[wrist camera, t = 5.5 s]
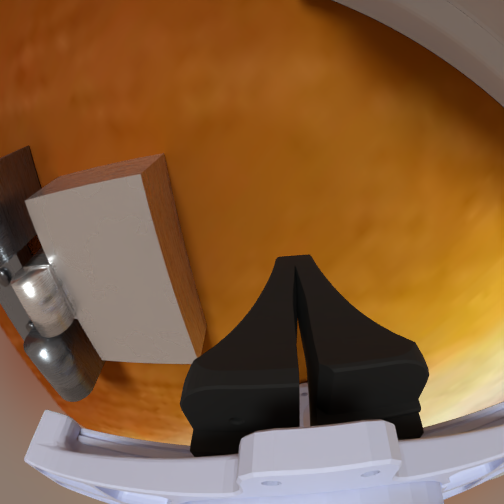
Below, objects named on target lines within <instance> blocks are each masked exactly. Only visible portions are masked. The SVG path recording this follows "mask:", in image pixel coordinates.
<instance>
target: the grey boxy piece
mask: <svg viewBox="0 0 504 504" xmlns="http://www.w3.org/2000/svg"><path fill="white" fill-rule="evenodd" d="M25 203H26V206H27V209H28V212H29V215H30V217H31V220H32V223H33V225H34V228H35V230H36V233H37V235H38V238H39V240H40V243H41V245H42V247H41V248H40V249H39V250H38V251H37V253H36V254H35V255H34V256H33V257H32V258H31V259H30V260H29V261H28V262H27V263H26V264H25V265H24V266H23V267H22V268H21V269H19V270H18V271H17V272H16V273H15V274H14V276H13V277H12V279H11V286H12V288H13V290H14V291H15V293H16V295H17V297H18V299H19V300H20V302H21V304H22V306H23V307H24V309H25V311H26V312H27V314H28V316H29V317H30V319H31V321H32V322H33V324H34V326H35V327H36V329H37V330H38V332H39V333H40V335H41V336H43V337H54V336H57V335H59V334H61V333H62V332H64V331H65V330H66V329H67V328H68V327H69V326H70V325H71V324H72V322H73V320H74V319H78V321H79V322H80V324H81V326H82V328H83V329H84V331H85V333H86V335H87V336H88V338H89V340H90V341H91V343H92V345H93V346H94V348H95V349H96V351H97V353H98V354H99V356H100V357H101V359H102V360H107V361H121V362H138V363H164V364H192V363H193V361H194V360H195V359H196V358H198V357H200V356H201V353H202V347H203V342H204V337H205V332H206V327H207V324H206V321H205V317H204V314H203V310H202V307H201V303H200V300H199V296H198V293H197V289H196V285H195V282H194V278H193V274H192V271H191V267H190V263H189V259H188V255H187V251H186V247H185V243H184V239H183V235H182V231H181V227H180V223H179V219H178V215H177V210H176V206H175V202H174V197H173V193H172V188H171V184H170V179H169V175H168V170H167V165H166V160H165V156H164V153H163V154H158V155H152V156H147V157H142V158H137V159H132V160H127V161H122V162H117V163H113V164H108V165H104V166H100V167H95V168H91V169H87V170H83V171H79V172H75V173H71V174H67V175H64V176H60V177H58V178H56V179H55V180H53V181H52V182H50V183H49V184H47V185H46V186H45V187H43V188H42V189H40V190H39V191H37V192H36V193H35V194H33V195H32V196H30V197H29V198H28V199H26V200H25Z"/></svg>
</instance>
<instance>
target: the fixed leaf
mask: <svg viewBox="0 0 504 504" xmlns="http://www.w3.org/2000/svg"><path fill="white" fill-rule="evenodd" d="M40 189H41V186H40V183H39V180H38V177H37V173H36V170H35V166H34V163H33V159H32V156H31V152H30V148H29V146H26V147H24V148H22V149H19V150H17V151H15V152H13V153H10V154H8V155H6V156H4V157H2V158H0V303H1V305H2V307H3V308H4V310H5V312H6V313H7V315H8V317H9V318H10V320H11V321H12V323H13V324H14V326H15V328H16V329H17V331H18V332H19V334H20V335H21V337H22V338H23V340H24V350H25V352H26V353H27V355H28V356H29V357H30V359H31V360H32V361H33V363H34V364H35V365H36V367H37V368H38V369H39V370H40V372H41V373H42V374H43V375H44V377H45V378H46V379H47V380H48V382H49V383H50V384H51V385H52V386H53V388H54V389H55V390H56V391H57V392H58V393H59V394H60V396H61V397H62V398H63V399H65V400H66V401H70V402H75V401H79V400H82V399H83V398H85V397H86V396H88V395H89V394H90V393H91V391H92V390H93V388H94V386H95V384H96V381H97V379H98V377H99V374H100V372H101V370H102V367H103V365H104V363H105V361H106V360H102V359H101V357H100V356H99V354H98V353H97V351H96V349H95V348H94V346H93V345H92V343H91V341H90V340H89V338H88V336H87V335H86V333H85V331H84V329H83V328H82V326H81V324H80V322H79V321H78V319H74V320H73V322H72V324H71V325H70V326H69V327H68V328H67V329H66V330H65V331H64V332H62V333H61V334H59V335H57V336H54V337H43V336H41V335H40V333H39V332H38V330H37V329H36V327H35V326H34V324H33V322H32V321H31V319H30V317H29V316H28V314H27V312H26V311H25V309H24V307H23V306H22V304H21V302H20V300H19V299H18V297H17V295H16V293H15V291H14V290H13V288H12V286H11V279H12V277H13V276H14V274H15V273H16V272H17V271H18V270H19V269H21V268H22V267H23V266H24V265H25V264H26V263H27V262H28V261H29V260H30V259H31V258H32V257H33V256H32V254H31V252H30V250H29V247H28V245H27V243H28V242H29V241H30V240H31V239H32V238H33V237H34V236H35V235H36V234H37V233H36V230H35V228H34V225H33V223H32V220H31V217H30V215H29V212H28V209H27V206H26V203H25V200H26V199H28V198H29V197H30V196H32V195H33V194H35V193H36V192H37V191H39V190H40Z"/></svg>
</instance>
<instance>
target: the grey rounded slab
mask: <svg viewBox="0 0 504 504" xmlns="http://www.w3.org/2000/svg"><path fill="white" fill-rule="evenodd" d="M333 1H335V2H338V3H340V4H342V5H345V6H347V7H349V8H352V9H354V10H356V11H358V12H361V13H363V14H365V15H367V16H369V17H371V18H373V19H375V20H377V21H379V22H381V23H383V24H385V25H387V26H389V27H391V28H393V29H394V30H396V31H398V32H400V33H402V34H403V35H405V36H407V37H409V38H410V39H412V40H414V41H415V42H417V43H419V44H420V45H422V46H424V47H425V48H427V49H428V50H430V51H431V52H433V53H434V54H436V55H437V56H439V57H440V58H442V59H443V60H445V61H446V62H448V63H449V64H451V65H452V66H453V67H455V68H456V69H458V70H459V71H460V72H462V73H463V74H464V75H466V76H467V77H468V78H470V79H471V80H472V81H473V82H475V83H476V84H477V85H478V86H480V87H481V88H482V89H483V90H485V91H486V92H487V93H488V94H489V95H490V96H492V97H493V98H494V99H495V100H496V101H497V102H498V103H500V104H501V105H502V106H503V107H504V0H333Z"/></svg>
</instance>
